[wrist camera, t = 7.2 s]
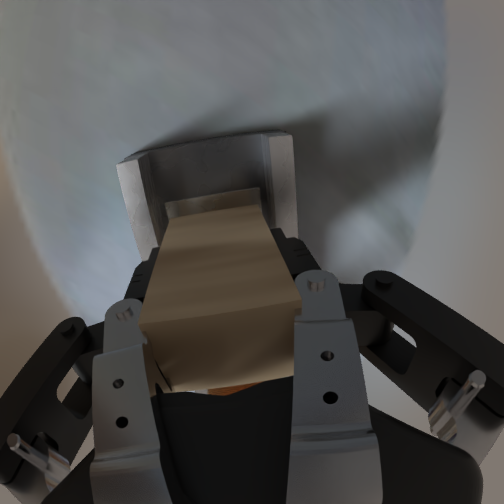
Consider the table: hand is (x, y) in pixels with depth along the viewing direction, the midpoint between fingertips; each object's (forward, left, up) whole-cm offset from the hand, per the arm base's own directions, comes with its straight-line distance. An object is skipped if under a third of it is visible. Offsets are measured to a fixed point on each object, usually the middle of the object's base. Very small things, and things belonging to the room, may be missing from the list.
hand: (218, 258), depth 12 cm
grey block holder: (+4, 0, -5) cm, 6 cm away
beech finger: (0, 0, -2) cm, 2 cm away
